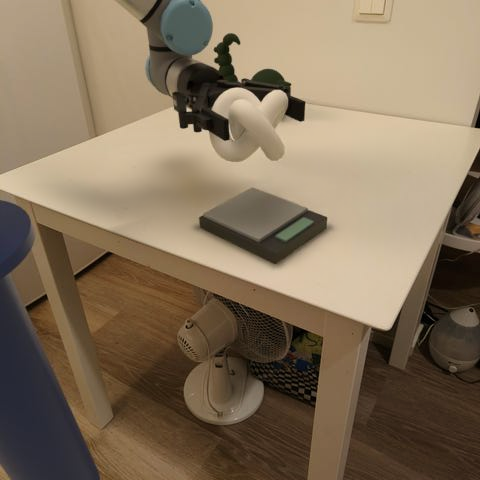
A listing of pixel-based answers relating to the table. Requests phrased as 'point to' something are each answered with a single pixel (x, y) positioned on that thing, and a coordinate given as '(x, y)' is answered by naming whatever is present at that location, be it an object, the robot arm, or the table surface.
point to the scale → (263, 224)
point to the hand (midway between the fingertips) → (266, 120)
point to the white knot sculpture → (250, 124)
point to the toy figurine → (228, 69)
